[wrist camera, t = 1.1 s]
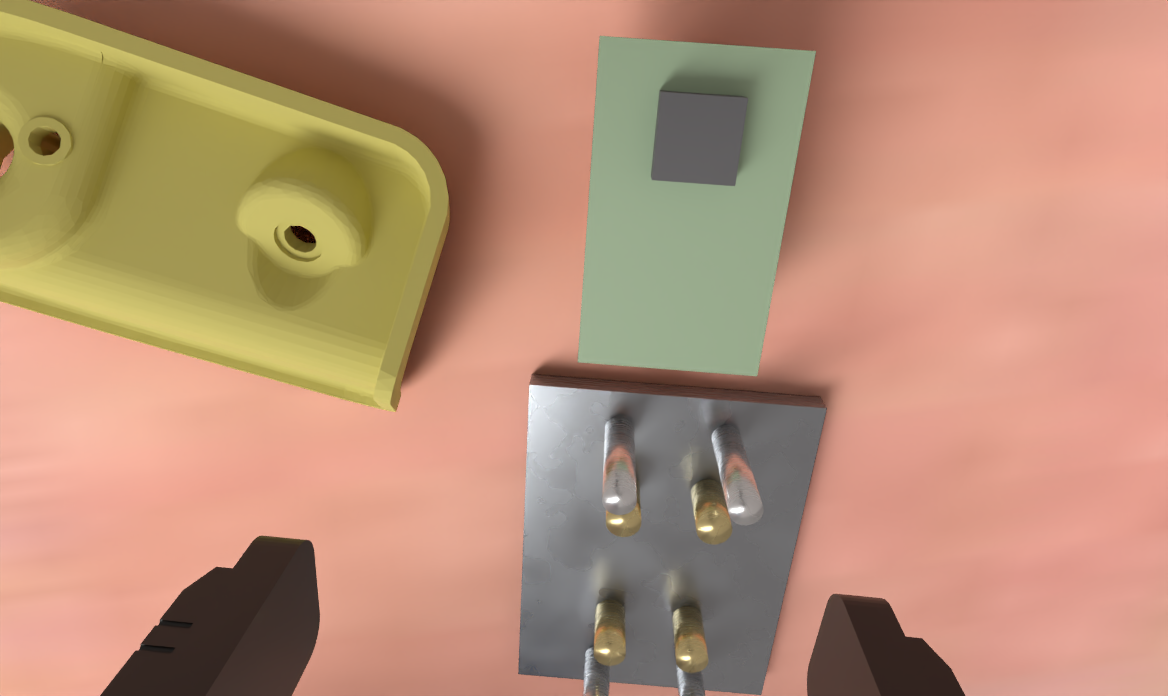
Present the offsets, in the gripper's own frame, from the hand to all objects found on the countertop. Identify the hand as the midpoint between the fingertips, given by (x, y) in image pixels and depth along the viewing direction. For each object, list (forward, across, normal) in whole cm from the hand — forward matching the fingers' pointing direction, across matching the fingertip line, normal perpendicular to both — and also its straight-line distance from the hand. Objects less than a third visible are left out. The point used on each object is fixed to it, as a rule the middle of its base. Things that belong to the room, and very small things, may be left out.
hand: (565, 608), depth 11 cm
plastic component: (+18, +15, -1) cm, 24 cm away
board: (+15, -3, -3) cm, 16 cm away
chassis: (+18, -4, +13) cm, 22 cm away
